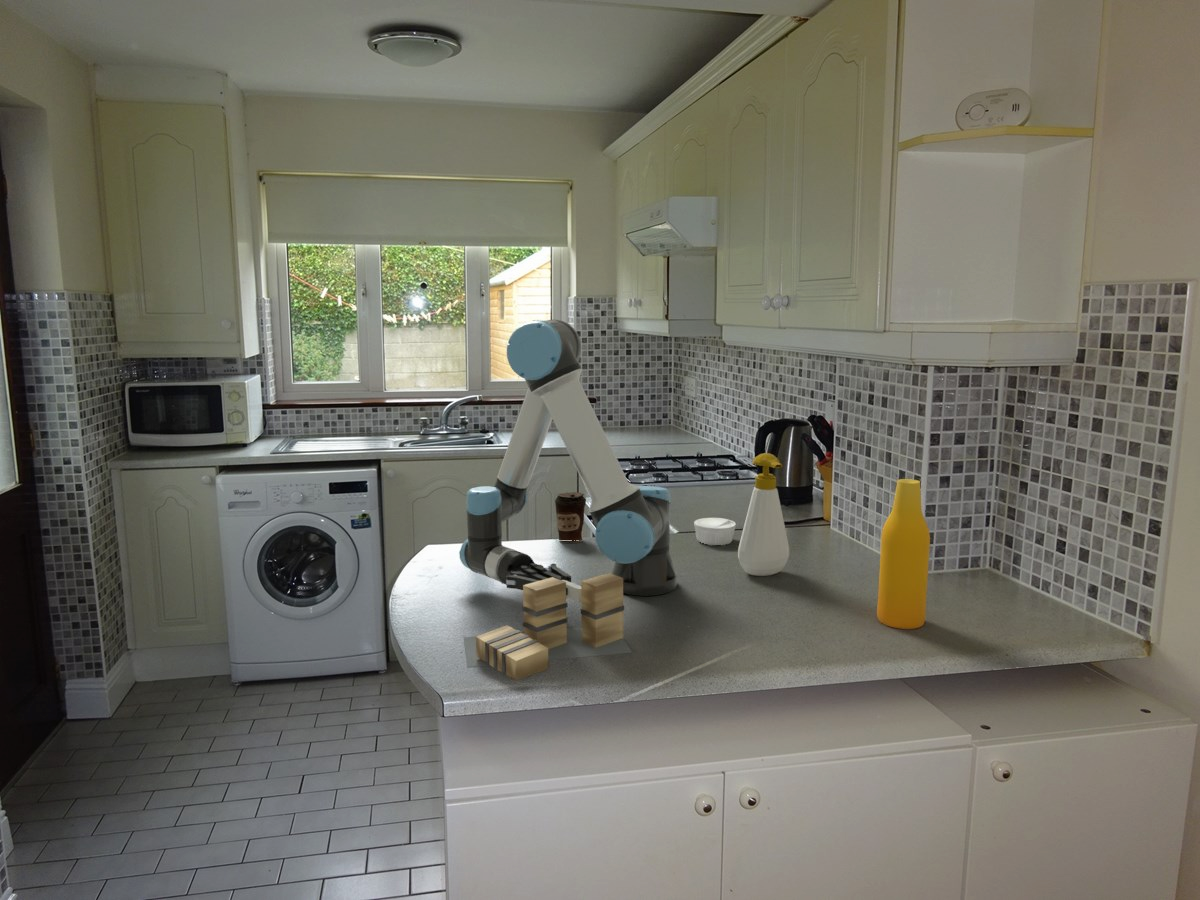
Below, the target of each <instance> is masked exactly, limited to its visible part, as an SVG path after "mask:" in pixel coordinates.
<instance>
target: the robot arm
mask: <svg viewBox="0 0 1200 900" xmlns="http://www.w3.org/2000/svg"><path fill="white" fill-rule="evenodd" d="M581 353H582V343H581V338H580V335H579V334H578V332H577V331H576V329H575V328H574V327H573V326H572V325H571V324H569V323H568V322H566V321H563V320H560V319H547V320H546V319H545V320H541V319H534V320H531V321H529V322H525V323H523V324H521V325H519V326H518V327H517V328H516V329H515V330H513V332H512V333H511V335H510V337H509V339H508V343H507V346H506V358H507V361H508V365H509V366H510V369H511V370H512V371H513V372H514V373H515V374H516V375H517V376H518V377H520V378H522V379H524V381H525V382H526V384H527V386H528V388H527V391H526V393H525V396H524V400H523V401H522V404H521V407H520V411H519V414H518V417H517V418H516V419H517V420H516V423H515V424H514V428H513V429H512V430H513V431H512V432H511V436H510V440H509V442H508V445H507V448H506V451H505V454H504V456H503V459H502V462H501V465H500V468H499V470H498V474H497V477H496V480H495V483H494V484H493V486H489V485H487V486H485V485H483V486H477V487H472V488H470V489H469V490H468V491H467V492H466V504H465V508H466V523H467V526H466V527H467V539H466V540H464V541H463V542H462V544H461V547H460V550H459V553H458V554H459V560H460V562H461V564H462V565H463V566H464V567H465V568H466V569H469V570H470V571H472V572H473V573H475V574H480V575H483V576H485V577H487V578H489V579H492V580H495V581H497V582H499V583H501V584H503V585H506V588H507V589H514V590H515V589H516V590H520V591H523V585H526V584H530V583H533V582H537V581H540V580H544V579H548V578H551V577H554V578H556V579H559V580H562V581H564V582H566V599H569V600H572V601H574V602H576V603H582V590H581V585H579V584H577V583H575V582H572V575H570V574H569V573H567V572H566V571H564V570H562V569H561V568H559V567H558V566H557V564H556V563H550V565H548V567H544V566H543V565H542V564H537V563H536V562H535V561H534V560H533V558H532V557H531V556H530V555H529V554H526V553H524V552H521V551H518V550H516V549H513V548H510V547H507V546H505V545H503V544H502V543H503V542H502V541H503V540H502V538H503V535H502V534H503V533H502V529H503V528H502V527H503V525H502V524H503V522H505V521H506V520H508V519H511V517H513V516H515V515H518V514H519V513H520V512H522V510H523V509H524V508H525V507H526V505H527V503H528V492H527V491H528V488H529V484H530V481H531V479H532V477H533V474H534V470H535V468H536V465H537V463H538V460H539V457H540V453H541V451H542V448H543V446H544V443H545V440H546V437H547V434H548V431H549V430H550V426H551V424H552V421H553V423H554V425H555V428H556V429H557V431H558V434H559V436H560V437H561V440H562V442H563V443H564V446H565V448H566V450H567V452H568V454H569V456H570V459H571V460H572V462H573V466H574V467H575V469H576V470H577V473H578V475H579V477H580V478H581V481H582V482H583V485H584V487H585V489H586V491H587V493H588V495H589V497H590V500H591V503H590V506H589V510H588V511H589V514H590V517H592V520H593V522H594V525H595V526H596V527H595V533H594V534H595V542H596V546H597V548H598V549H599V551H600V552H601V553H602V555H603V556H605V557H606V558H607V559H608V560H610V561H613V562H614V565H613V568H612V571H611V573H610V574H613V575H616V576H619V577H622V578H623V594H627V595H630V596H642V597H643V596H645V597H646V596H658V595H663V594H667V593H670V592H672V591H674V590H676V588H677V586H678V577H677V576H678V575H677V573H676V569H675V566H674V563H673V560H672V557H671V554H670V537H671V536H670V532H671V531H670V529H671V528H670V527H671V526H670V525H671V523H670V521H671V520H670V519H671V518H670V517H671V516H670V515H671V506H670V505H671V502H672V501H671V495H670V491H669V490H668V489H667V488H666V487H661V486H653V485H652V486H650V485H635V484H631V483H630V482H629V481H628V479H627V477H626V475H625V473H624V470H623V468H622V467H621V464H620V462H619V459H618V458H617V456H616V454H615V452H614V450H613V448H612V446H611V443H610V441H609V439H608V437H607V435H606V433H605V431H604V429H603V426H602V425H601V423H600V421H599V419H598V417H597V415H596V413H595V410H594V409H593V406H592V404H591V403H590V400H589V398H588V396H587V394H586V392H585V390H584V387H583V386H582V383H581V382H580V377H581V374H582V372H583V368H582V367H581V365H580V362H579V361H580V357H581Z"/></svg>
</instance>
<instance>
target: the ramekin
mask: <svg viewBox="0 0 1200 900" xmlns="http://www.w3.org/2000/svg"><path fill="white" fill-rule="evenodd" d="M693 526H694V530H695V531H694V532H695V537H696V540H697V542H698V543H700V542H701V544H702V543H704V544H703V545H705V544H709V545H708V546H712V545H721V546H726V544H727V545H729V544H731V542H732V541H733V540H734V536H735V535H734V534H735V529H736V527H737V523H736V522H735V521H734V520H732V519H731V520H730V519H728V518H724V517H723V518H722V517H702V518H698V519H696V520H694V521H693Z"/></svg>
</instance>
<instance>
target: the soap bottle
mask: <svg viewBox="0 0 1200 900" xmlns="http://www.w3.org/2000/svg"><path fill="white" fill-rule="evenodd" d="M752 465H755V466H760V467H761V466H762V473H758V474H757V476H755V478H754V480H755V481H754V485H755V486H754V487H753V489H752V493H751V496H750V501H749V505H748V509H747V512H746V513H747V514H746V516H745V521H744V524H743V529H742V532H741V537H740V540H739V545H738V548H737V549H738V550H737V557H738V561H739V563H740V566H741V568H742V569H743V570H744V572H746V573H747V574H749V575H750V576H754V577H766V576H773V575H776V574H778V573H779V572H780V571H782V570H783V568H784V567H785V566H786V564H787V561H788V559H789V556H790V545H789V542H788V541H789V540H788V536H787V531H786V526H785V520H784V516H783V511H782V507H781V501H780V496H779V490H778V488H777V486H776V485H777V477H776V476H775V475H774V474H773V473H770V468H773V469H778V468H779V469H781V468H782V467H783V464H782V463H780V459H779V458H778V457H776V456H775V455H774V454H772V453H768V452H764V453H760V454H758V455H757V456H755V457H754V459H753V460H752Z"/></svg>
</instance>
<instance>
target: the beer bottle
mask: <svg viewBox="0 0 1200 900" xmlns="http://www.w3.org/2000/svg"><path fill="white" fill-rule="evenodd" d="M894 492H895V493H894V500H893V505H892V508H891V512H890V513H889V516H888V517H887V519H886V521H885V522H884V525H883V528H882V532H881V537H880V557H879V558H880V559H879V576H878V594H877V598H878V599H877V607H876V615H877V619H878V621H879V622H880V623H881V624H883V625H885V626H887V627H890V628H894V629H899V630H901V629H902V630H915V629H919V628H921V627H922V626H924V624H925V621H926V615H927V612H926V611H927V609H926V608H927V595H928V593H927V592H928V590H927V589H928V576H929V561H930V559H929V558H930V545H931V537H930V536H931V535H930V534H931V533H930V529H929V526H928V524H927V521H926V519H925V517H924V514H923V509H922V508H923V507H922V493H921V481H920V480H916V479H910V478H900V479H898V480H897V481H896V487H895V491H894Z"/></svg>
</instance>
